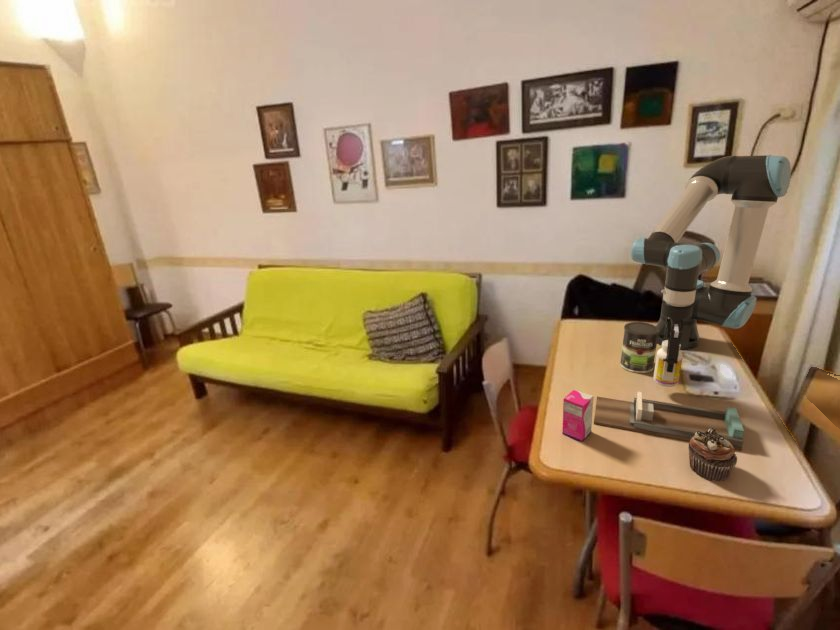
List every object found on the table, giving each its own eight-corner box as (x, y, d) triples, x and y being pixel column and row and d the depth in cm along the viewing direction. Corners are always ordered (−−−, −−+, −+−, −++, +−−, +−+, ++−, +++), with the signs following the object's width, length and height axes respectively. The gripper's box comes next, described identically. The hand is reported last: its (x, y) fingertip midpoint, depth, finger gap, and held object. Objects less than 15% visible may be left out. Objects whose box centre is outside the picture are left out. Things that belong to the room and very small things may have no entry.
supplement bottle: (681, 388, 127) (688, 349, 122) (656, 387, 128) (662, 349, 123) (674, 376, 133) (680, 338, 128) (650, 375, 134) (655, 338, 129)
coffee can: (654, 375, 142) (661, 336, 136) (620, 371, 146) (624, 332, 140) (652, 360, 150) (657, 323, 145) (619, 357, 154) (623, 320, 149)
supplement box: (571, 423, 122) (573, 388, 118) (591, 432, 118) (595, 396, 114) (560, 433, 118) (563, 397, 114) (581, 442, 114) (584, 406, 110)
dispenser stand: (596, 398, 132) (598, 385, 130) (731, 420, 118) (734, 405, 117) (593, 423, 121) (595, 409, 119) (741, 450, 108) (745, 434, 106)
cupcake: (715, 489, 97) (724, 453, 93) (675, 463, 105) (682, 429, 101) (743, 475, 100) (752, 439, 97) (702, 450, 109) (710, 416, 105)
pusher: (635, 405, 126) (637, 391, 124) (651, 407, 124) (653, 393, 122) (636, 423, 118) (638, 409, 116) (652, 426, 117) (655, 412, 115)
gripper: (660, 288, 130) (651, 356, 139) (664, 314, 114) (653, 389, 123) (689, 290, 127) (678, 359, 136) (698, 317, 111) (684, 393, 120)
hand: (666, 373), depth 130 cm, fingers closed on supplement bottle, 7 cm apart
